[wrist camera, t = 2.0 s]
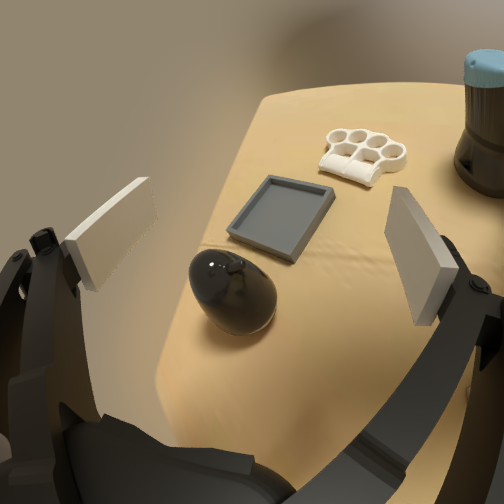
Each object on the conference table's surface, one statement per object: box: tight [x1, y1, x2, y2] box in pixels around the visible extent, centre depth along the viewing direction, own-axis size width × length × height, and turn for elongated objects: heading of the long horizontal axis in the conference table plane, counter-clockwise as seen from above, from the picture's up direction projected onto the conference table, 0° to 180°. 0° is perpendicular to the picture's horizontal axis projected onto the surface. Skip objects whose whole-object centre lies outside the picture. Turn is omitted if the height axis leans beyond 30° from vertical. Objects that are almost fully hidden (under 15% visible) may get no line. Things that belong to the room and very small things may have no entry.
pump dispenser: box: [189, 249, 277, 335], centre depth 38 cm, size 10×10×15 cm
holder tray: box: [226, 175, 336, 263], centre depth 50 cm, size 15×15×2 cm
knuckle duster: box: [319, 128, 407, 187], centre depth 50 cm, size 3×18×15 cm
